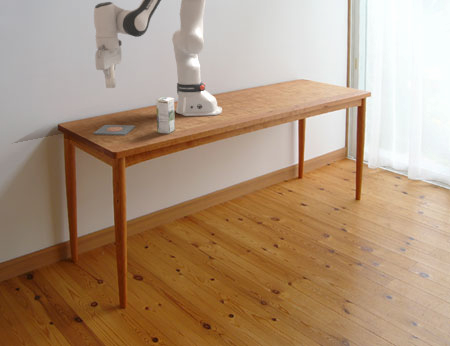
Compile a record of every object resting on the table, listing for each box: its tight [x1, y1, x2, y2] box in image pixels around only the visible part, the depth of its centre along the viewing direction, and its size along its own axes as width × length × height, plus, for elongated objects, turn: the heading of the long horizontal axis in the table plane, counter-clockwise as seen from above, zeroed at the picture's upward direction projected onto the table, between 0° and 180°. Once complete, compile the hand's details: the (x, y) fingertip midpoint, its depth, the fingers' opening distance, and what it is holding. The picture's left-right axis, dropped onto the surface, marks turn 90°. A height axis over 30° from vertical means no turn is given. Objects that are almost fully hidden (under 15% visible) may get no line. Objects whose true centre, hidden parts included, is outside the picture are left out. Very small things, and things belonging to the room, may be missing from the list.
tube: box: [104, 63, 117, 89], centre depth 230 cm, size 4×4×10 cm
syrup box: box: [155, 96, 176, 134], centre depth 233 cm, size 6×6×14 cm
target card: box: [93, 124, 136, 136], centre depth 238 cm, size 14×13×1 cm
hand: (110, 77), depth 230 cm, fingers closed on tube, 4 cm apart
